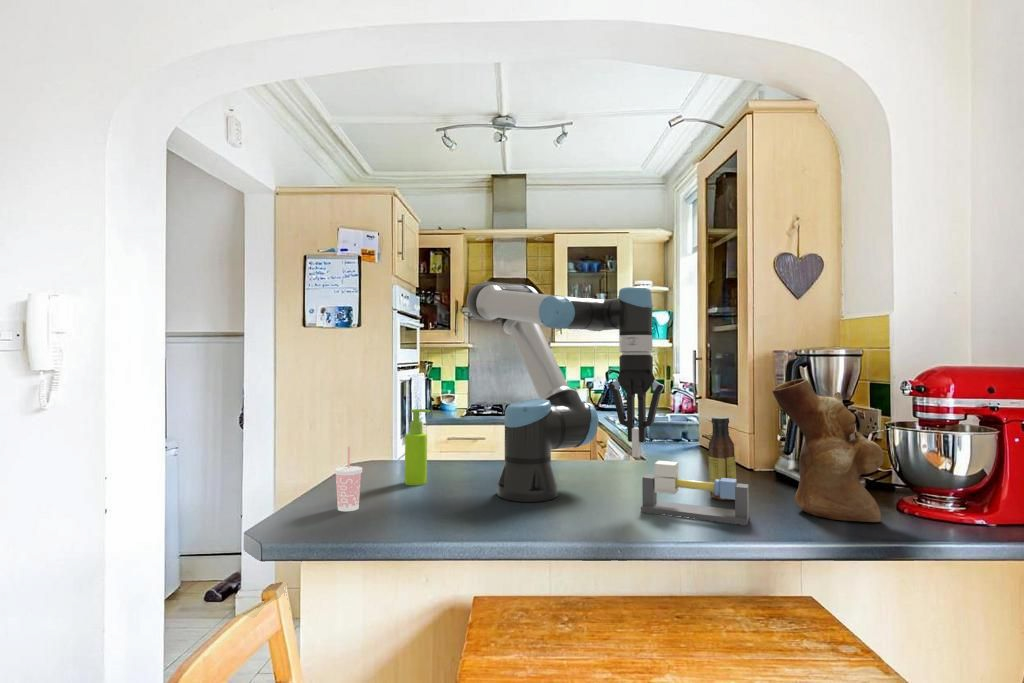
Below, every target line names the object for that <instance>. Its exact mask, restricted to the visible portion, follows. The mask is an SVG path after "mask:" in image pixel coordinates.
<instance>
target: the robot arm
mask: <svg viewBox="0 0 1024 683" xmlns="http://www.w3.org/2000/svg"><path fill="white" fill-rule="evenodd" d="M466 306H467V308H468V311H469V313H470V314H471V315H472V316H473V317H475V318H476V319H478V320H481V321H485V322H497V323H500V324H501V327H502V329H503V331H504V333H505V334H507V335H510V336H511V337H512V339H513V341H514V344H515V347H516V349H517V351H518V352H519V355H520V357H521V359H522V362H523V364H524V366H525V369H526V371H527V373H528V375H529V377H530V380H531V382H532V385H533V387H534V389H535V391H536V394H537V396H538V398H534V399H525V400H519V401H514V402H512V403H510V404H508V405H507V407H506V408H505V411H504V420H503V425H504V464H503V467H502V470H501V474H500V476H499V480H498V483H497V493H496V494H497V496H498V497H499V498H501V499H503V500H507V501H512V502H519V503H520V502H521V503H522V502H523V503H534V502H535V503H536V502H546V501H550V500H553V499H556V498H557V497H558V496H559V490H558V489H559V486H558V482H557V479H556V477H555V476H556V475H555V474H554V470H553V467H552V461H551V460H552V458H551V457H552V451H553V450H562V449H569V448H574V449H575V448H579V447H581V446H586V445H588V444H589V443H592V441H593V440H594V439H595V437H596V435H597V433H598V427H599V416H598V412H597V410H596V408H595V406H594V405H593V404H592V403H589V402H588V401H586V400H585V401H582V399H581V397H580V395H579V393H578V391H577V390H576V389H574V388H571V387H569V385H568V382H567V381H566V378H565V376H564V374H563V372H562V370H561V368H560V366H559V364H558V362H557V360H556V357H555V355H554V353H553V351H552V349H551V347H550V345H549V343H548V341H547V339H546V337H545V335H544V332H543V331H542V328H541V327H540V326H541V325H543V326H544V327H546V328H548V329H549V328H550V329H554V330H564V329H565V330H566V329H568V330H584V331H585V330H587V331H590V332H603V331H612V330H613V331H614V330H618V332H619V333H618V336H619V337H618V340H619V344H618V346H619V350H618V351H619V352H620V353H621V355H620V356H619V363H618V364H619V373H618V376H617V380H615V381H614V382H612V383H609V384H608V386H607V388H608V389H609V391H610V392H611V394H612V397H613V401H614V406H615V409H616V414H617V418H618V423H619V424H620V425H621V426H624V427H626V428H627V441H628V442H629V443H630V442H631V457H632V458H640V457H642V443H645V442H646V429H647V428H648V427H650V426H652V425H654V423H655V419H656V414H657V411H658V410H657V409H658V406H659V400H660V397H661V394H662V393H663V391H664V389H665V388H666V387H665V386H666V385H664V384H663V383H662V384H661V383H660V382H658V381H657V380H656V376H655V375H654V372H653V367H654V366H653V365H654V364H653V358H654V357H653V355H652V354H651V353H653V307H654V306H653V298H652V291H651V289H650V288H649V287H646V286H628V287H627V286H626V287H623V288H621V289H619V291H618V296H617V297H616V298H609V299H601V298H600V299H599V298H598V299H597V298H585V297H574V296H564V295H555V294H545V293H539V292H538V291H537V290H536V289H535V288H534V287H532V286H531V285H530V286H529V285H525V284H523V283H508V282H506V283H505V282H497V281H483V282H480V283H477V284H475V285H473V287H472V288H470V290H469V291H468V293H467V297H466ZM651 387H652V391H653V392H652V396H651V401H650V404H649V409H648V414H646V413H647V407H646V406H647V404H646V402H647V401H646V400H647V392H648V391H649V390H650V388H651ZM621 388H622V389H623V390H624V392H625V396H626V411H625V408H624V407H625V406H624V403H623V399H622V395H621V391H620V389H621ZM636 395H637V396H636ZM635 397H637V424H638V425H637V427H636V423H635V422H636V419H635V418H636V415H635V414H636V411H635V408H636V406H635V404H636V403H635V402H636V399H635ZM646 415H647V416H646Z"/></svg>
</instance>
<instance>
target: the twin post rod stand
mask: <svg viewBox="0 0 1024 683" xmlns="http://www.w3.org/2000/svg"><path fill="white" fill-rule="evenodd" d="M641 482H642V483H641V484H642V489H641V490H642V504H641V506H640V513H644V512H647V513H646V514H652V513H656V514H655V515H659V514H665V515H664V516H667V515H672V516H671V517H675V516H681V517H680V518H683V517H689V518H688V519H690V518H695V519H694V520H698V519H701V520H700V521H706V520H709V521H708V522H714V521H717V522H716V523H722V522H724V523H723V524H729V523H731V524H732V525H737V524H740V525H739V526H745V525H747V526H748V523H749V519H750V509H749V507H750V506H749V504H750V503H749V498H750V496H749V495H750V494H749V492H750V490H749V489H750V487H749V484H748V483H747V484H746V483H738V482H737V478H736V479H730V478H721V480H720V479H715V483H712V482H709V481H701V480H700V481H699V480H692V479H691V480H690V479H689V480H688V479H682V478H681V479H680V478H678V479H675V487H678V489H690V490H699V491H708V492H709V491H714V494H715V495H718V496H720V498H725V499H734V502H735V503H734V509H731V508H723V507H715V506H706V505H705V506H704V505H697V504H689V503H680V502H674V501H673V502H670V501H665V500H664V501H663V500H657V498H658V497H657V495H658V493H656V492H655V474H647V473H646V474H645V475H643V476H642V481H641Z"/></svg>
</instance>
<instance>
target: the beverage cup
mask: <svg viewBox="0 0 1024 683" xmlns="http://www.w3.org/2000/svg"><path fill="white" fill-rule="evenodd" d="M350 461H351V447H350V446H347V466H340V467H336V468H334V474H335V481H336V482H335V483H336V500H337V501H336V502H337V511H340V512H352V511H357V510H358V509H359V506H360V493H361V492H360V491H361V480H362V478H361V477H362V473H363V467H361V466H357V465H356V466H353V465H351V462H350Z"/></svg>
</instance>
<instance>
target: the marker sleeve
mask: <svg viewBox="0 0 1024 683" xmlns="http://www.w3.org/2000/svg"><path fill="white" fill-rule="evenodd" d="M654 475H655V492H656V493H657V494H665V495H666V494H667V495H674V496H675V495H676V494H677V492H678V491H679V487H675V479H679V461H667V460H657V461H655V462H654Z"/></svg>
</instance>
